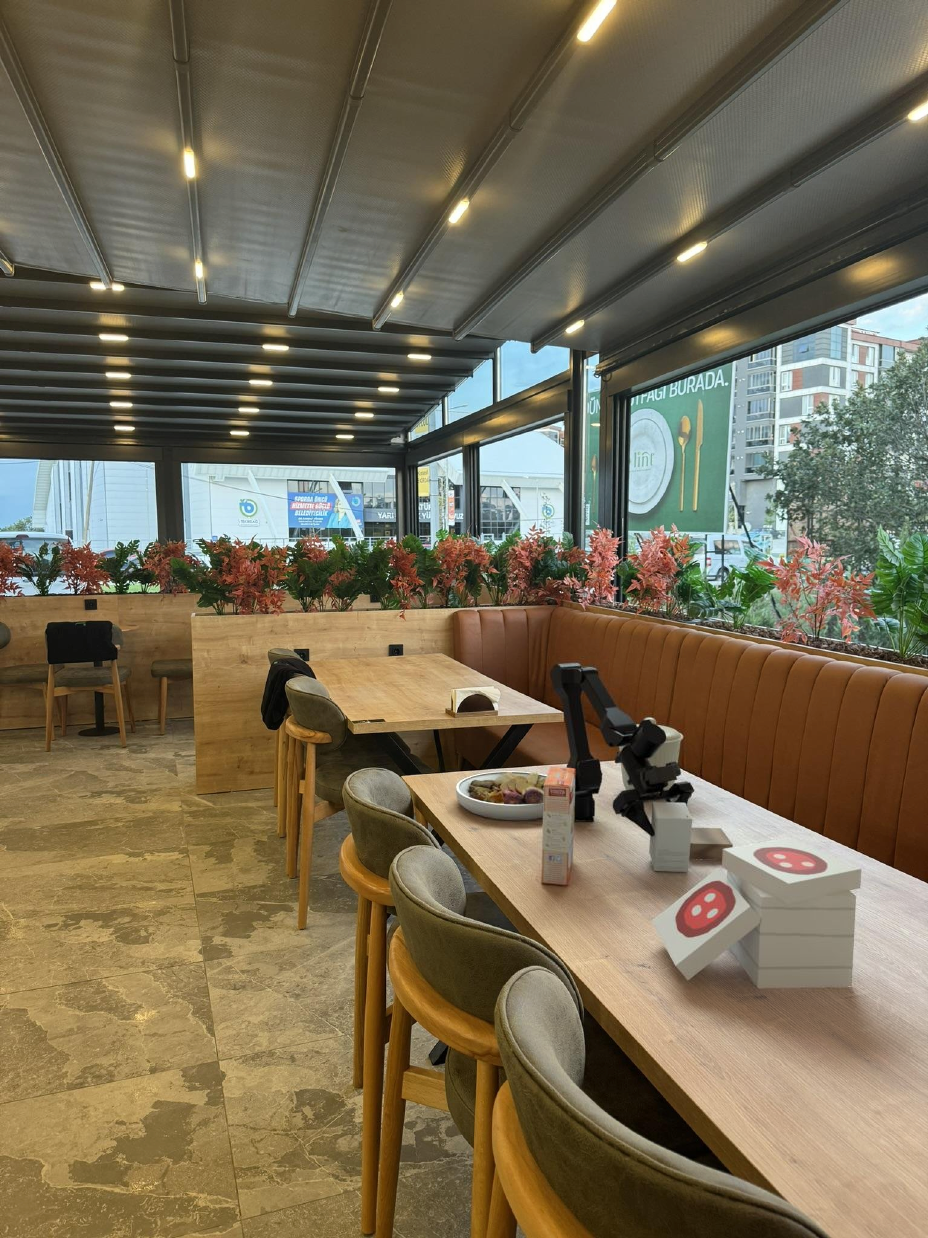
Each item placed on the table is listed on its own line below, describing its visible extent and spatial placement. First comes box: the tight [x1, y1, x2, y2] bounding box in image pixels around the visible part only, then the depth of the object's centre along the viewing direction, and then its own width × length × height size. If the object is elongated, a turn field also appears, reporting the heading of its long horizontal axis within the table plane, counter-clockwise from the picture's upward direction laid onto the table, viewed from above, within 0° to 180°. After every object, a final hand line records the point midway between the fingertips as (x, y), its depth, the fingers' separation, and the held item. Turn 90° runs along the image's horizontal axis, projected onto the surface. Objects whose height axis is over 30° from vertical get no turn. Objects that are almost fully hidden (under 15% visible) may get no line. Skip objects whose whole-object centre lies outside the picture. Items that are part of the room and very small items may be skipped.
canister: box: [618, 717, 684, 790], centre depth 224 cm, size 18×18×21 cm
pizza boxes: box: [651, 836, 862, 989], centre depth 133 cm, size 19×30×18 cm, turn 91°
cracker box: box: [541, 766, 575, 887], centre depth 169 cm, size 14×6×21 cm, turn 168°
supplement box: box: [648, 801, 693, 873], centre depth 172 cm, size 7×7×13 cm
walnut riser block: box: [689, 827, 734, 861], centre depth 182 cm, size 10×10×4 cm
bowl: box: [455, 770, 547, 821], centre depth 214 cm, size 30×30×8 cm
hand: (671, 832), depth 172 cm, fingers closed on supplement box, 9 cm apart
